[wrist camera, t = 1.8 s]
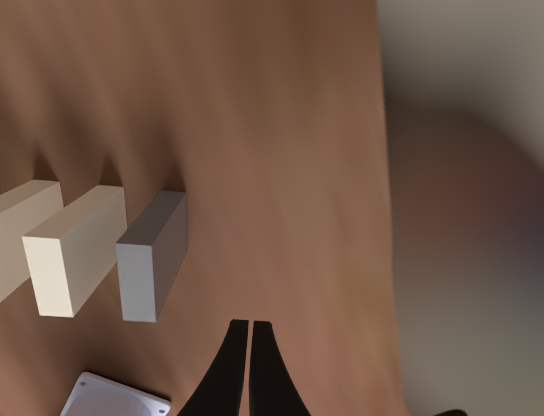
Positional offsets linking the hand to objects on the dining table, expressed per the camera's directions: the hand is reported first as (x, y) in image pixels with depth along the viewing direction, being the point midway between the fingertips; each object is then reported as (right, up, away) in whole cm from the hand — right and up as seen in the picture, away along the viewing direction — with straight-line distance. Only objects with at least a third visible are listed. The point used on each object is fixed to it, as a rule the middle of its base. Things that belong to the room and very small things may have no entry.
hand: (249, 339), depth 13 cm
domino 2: (-10, +5, +9) cm, 14 cm away
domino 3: (-6, +4, +9) cm, 11 cm away
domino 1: (-14, +5, +8) cm, 17 cm away
